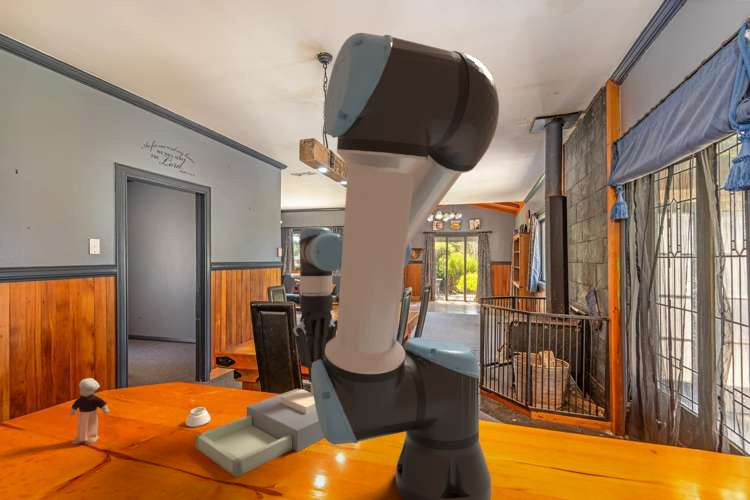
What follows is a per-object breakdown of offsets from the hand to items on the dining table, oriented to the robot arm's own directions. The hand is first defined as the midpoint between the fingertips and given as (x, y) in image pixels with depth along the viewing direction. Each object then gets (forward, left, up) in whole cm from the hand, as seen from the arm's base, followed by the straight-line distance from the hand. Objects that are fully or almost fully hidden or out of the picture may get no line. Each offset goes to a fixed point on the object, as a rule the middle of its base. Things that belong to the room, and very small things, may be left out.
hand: (317, 395), depth 86 cm
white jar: (+19, +19, -5) cm, 27 cm away
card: (0, +4, -1) cm, 4 cm away
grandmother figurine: (+28, +37, -5) cm, 47 cm away
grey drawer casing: (0, +6, -5) cm, 7 cm away
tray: (0, +19, -5) cm, 19 cm away
